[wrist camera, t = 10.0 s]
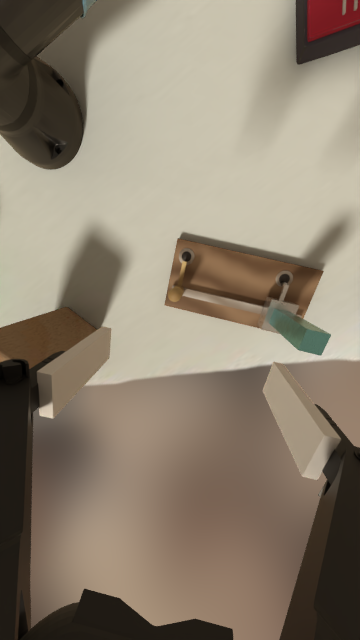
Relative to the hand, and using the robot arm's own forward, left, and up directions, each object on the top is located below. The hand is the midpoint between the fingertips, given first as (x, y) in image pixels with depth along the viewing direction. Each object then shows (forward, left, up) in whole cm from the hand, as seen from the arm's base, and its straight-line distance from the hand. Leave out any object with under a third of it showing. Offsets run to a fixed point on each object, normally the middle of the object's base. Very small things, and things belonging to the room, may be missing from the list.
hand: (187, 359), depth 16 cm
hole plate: (-4, +8, -29) cm, 30 cm away
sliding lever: (-3, +16, -27) cm, 31 cm away
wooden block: (+16, -28, -29) cm, 44 cm away
